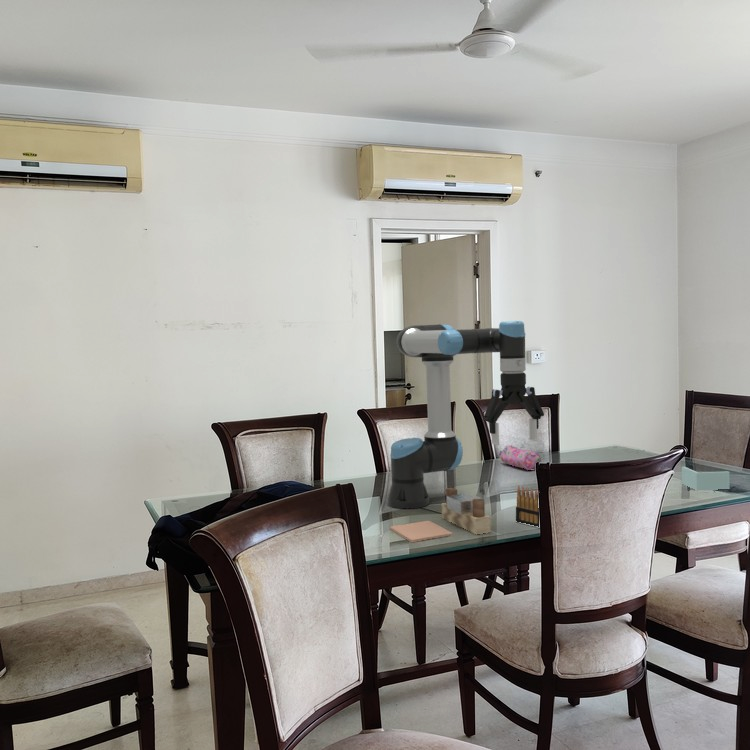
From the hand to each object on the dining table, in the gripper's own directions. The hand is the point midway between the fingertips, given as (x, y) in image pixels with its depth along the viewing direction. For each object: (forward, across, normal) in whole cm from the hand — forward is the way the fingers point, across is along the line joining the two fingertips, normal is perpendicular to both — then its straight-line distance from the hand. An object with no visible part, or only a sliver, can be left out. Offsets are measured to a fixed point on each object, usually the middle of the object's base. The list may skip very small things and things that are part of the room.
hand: (514, 442), depth 208 cm
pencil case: (+28, +58, +82) cm, 104 cm away
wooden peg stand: (+28, -9, +15) cm, 33 cm away
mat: (+28, -25, +15) cm, 41 cm away
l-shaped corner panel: (+28, +92, +12) cm, 97 cm away
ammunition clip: (+28, +9, +5) cm, 30 cm away
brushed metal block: (+23, -9, +15) cm, 29 cm away
